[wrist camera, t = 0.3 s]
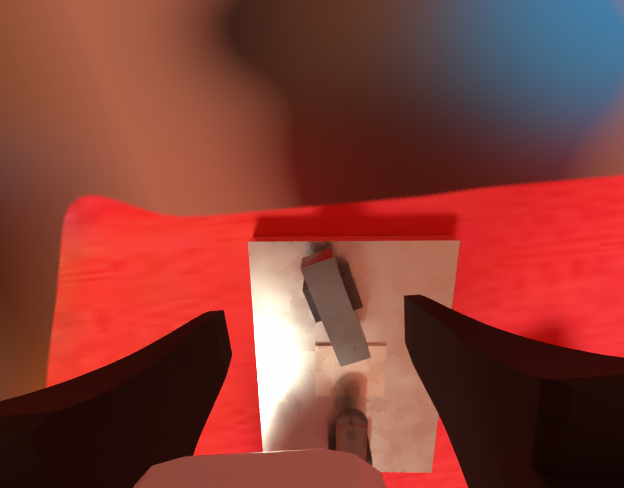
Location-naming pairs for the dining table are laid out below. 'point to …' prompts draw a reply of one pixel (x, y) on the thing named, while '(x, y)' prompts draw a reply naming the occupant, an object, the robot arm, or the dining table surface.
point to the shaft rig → (346, 343)
